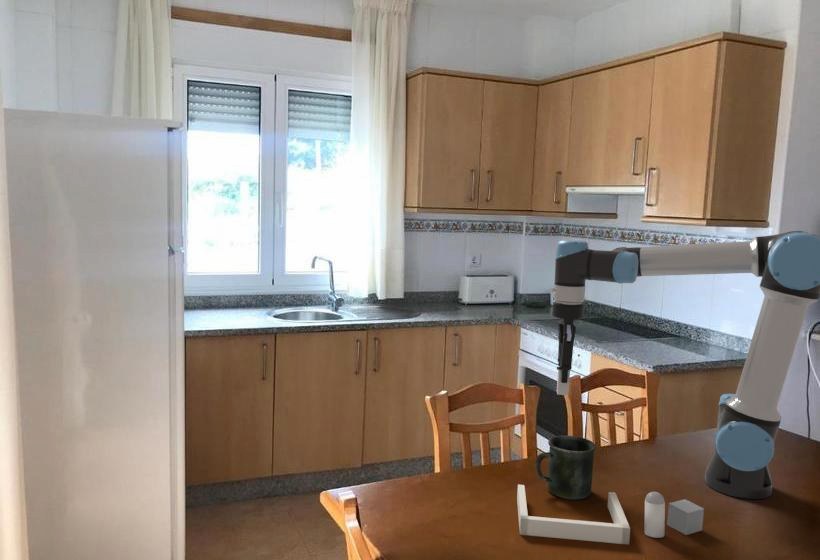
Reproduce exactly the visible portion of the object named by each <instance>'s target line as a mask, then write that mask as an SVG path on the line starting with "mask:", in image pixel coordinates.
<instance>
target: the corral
mask: <svg viewBox="0 0 820 560" xmlns="http://www.w3.org/2000/svg"><path fill="white" fill-rule="evenodd" d="M516 491H517V494H516V495H517V496H516V501H517V503H516V504H517V513H518V514H517V515H518V516H517V517H518V525H519V527H518V528H519V529H518V530H519V535H521V536H529V537H530V536H531V537H540V538H541V537H544V538H554V539H563V540H564V539H565V540H574V541H575V540H576V541H587V542H597V543H607V544H609V543H610V544H618V545H630V537H631V536H630V535H631V527H630V524H629V522H628V520H627V517H626V515H625V512H624V510H623V507H622V505H621V503H620V501H619V498H618V496H617V493H616V491H615V492H614V491H613V492H611V491H608V496H607V506H606V507H607V509H608V511H609V514H610V517H611V520H612V522H613V523H611V522H602V521H601V522H600V521H589V520H579V519H566V518H557V517H554V518H553V517H546V516H543V517H542V516H533V515H531V516H530V515H528V507H527V506H528V505H527V498H526V495H527V494H526V487H525V485H524V484H517V490H516Z"/></svg>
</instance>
